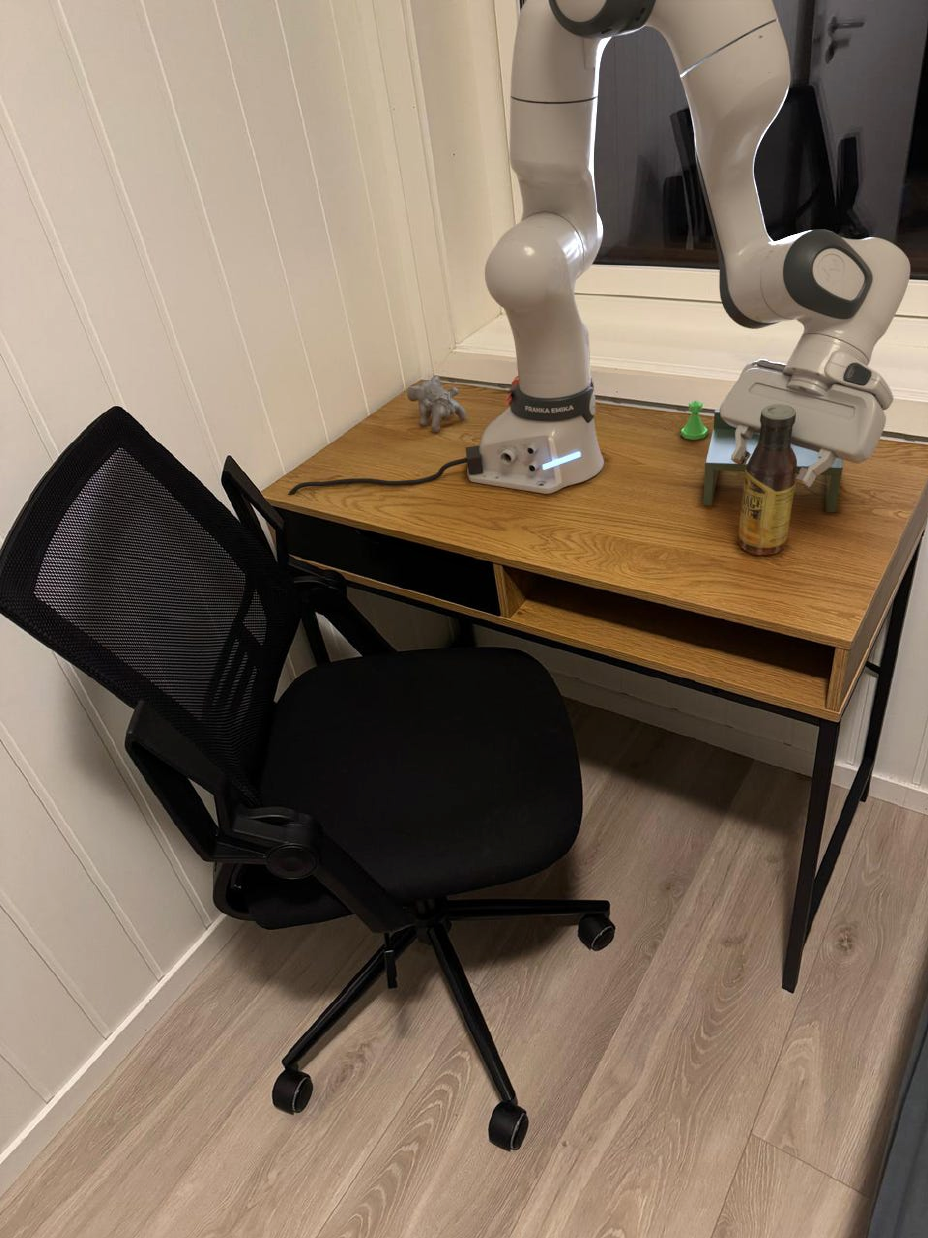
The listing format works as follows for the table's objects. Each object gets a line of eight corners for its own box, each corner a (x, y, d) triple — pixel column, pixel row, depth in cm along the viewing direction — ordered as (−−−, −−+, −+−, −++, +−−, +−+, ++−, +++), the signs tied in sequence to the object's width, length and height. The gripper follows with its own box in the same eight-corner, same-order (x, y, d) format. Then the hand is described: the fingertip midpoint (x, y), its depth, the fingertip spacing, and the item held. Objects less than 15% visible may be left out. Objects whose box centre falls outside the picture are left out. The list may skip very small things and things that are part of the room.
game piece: (694, 426, 146) (695, 392, 142) (713, 433, 143) (714, 400, 139) (675, 434, 144) (676, 401, 141) (694, 442, 141) (695, 408, 138)
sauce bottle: (731, 537, 118) (741, 402, 106) (776, 530, 118) (791, 394, 106) (747, 563, 113) (760, 424, 101) (794, 555, 113) (813, 416, 101)
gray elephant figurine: (446, 437, 155) (439, 397, 150) (394, 427, 161) (386, 389, 156) (473, 416, 160) (468, 376, 156) (422, 407, 167) (416, 370, 162)
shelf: (703, 505, 125) (706, 445, 120) (711, 466, 134) (715, 409, 128) (835, 512, 120) (845, 450, 114) (835, 471, 128) (844, 411, 123)
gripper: (741, 345, 111) (691, 441, 113) (894, 379, 98) (834, 488, 99) (759, 366, 116) (710, 459, 117) (907, 402, 102) (850, 505, 104)
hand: (768, 473), depth 108 cm, fingers open, 8 cm apart
